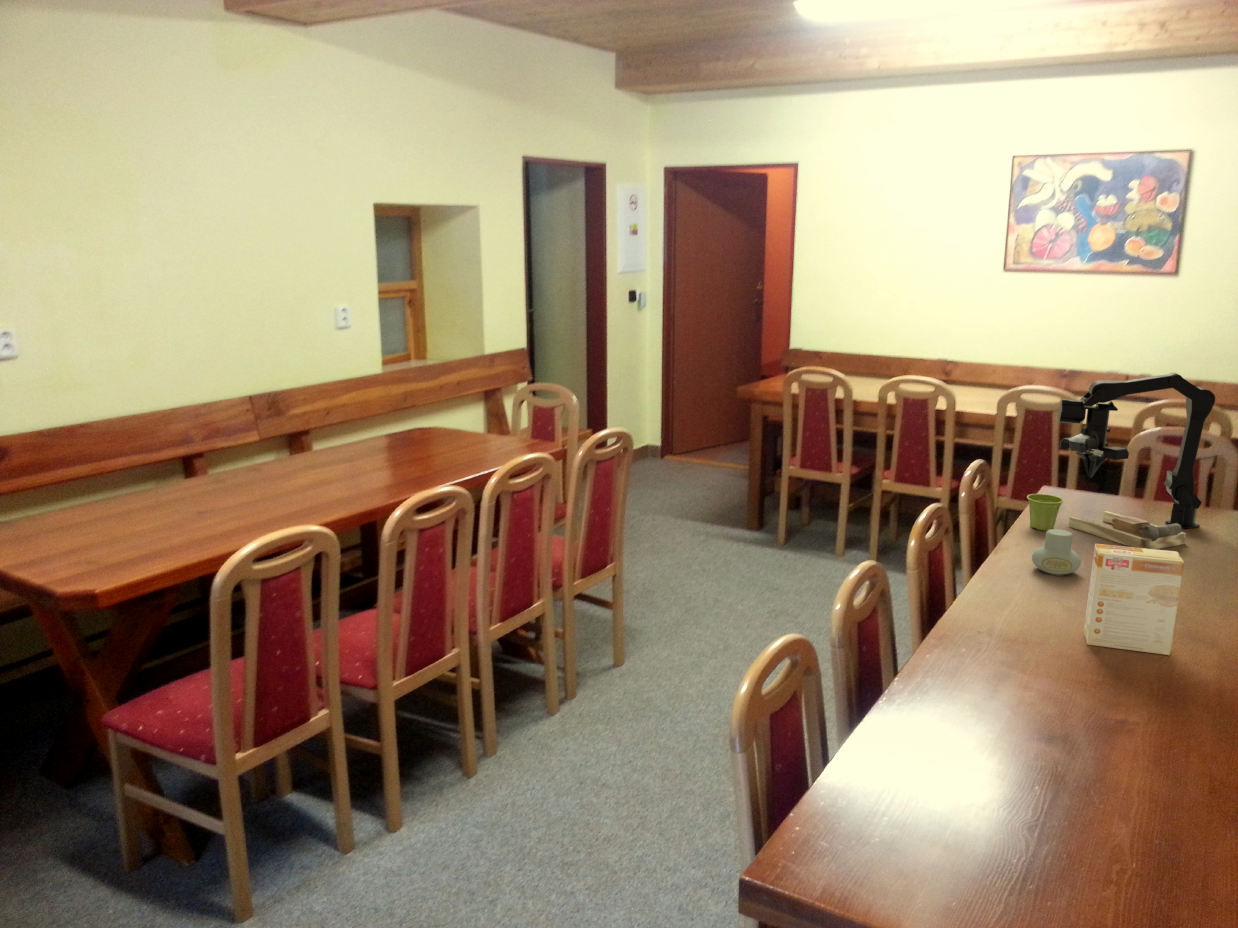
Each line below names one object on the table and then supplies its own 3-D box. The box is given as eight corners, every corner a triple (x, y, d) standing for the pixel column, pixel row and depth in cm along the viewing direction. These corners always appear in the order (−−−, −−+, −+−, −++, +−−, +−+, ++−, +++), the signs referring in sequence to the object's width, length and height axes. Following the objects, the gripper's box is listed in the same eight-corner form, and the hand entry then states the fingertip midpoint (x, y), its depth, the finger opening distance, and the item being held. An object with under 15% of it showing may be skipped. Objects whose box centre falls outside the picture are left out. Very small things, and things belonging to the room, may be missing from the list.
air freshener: (1030, 573, 232) (1035, 534, 230) (1030, 563, 240) (1034, 525, 238) (1080, 579, 228) (1085, 539, 226) (1078, 569, 236) (1083, 530, 234)
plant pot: (1063, 533, 265) (1067, 503, 263) (1027, 531, 266) (1030, 501, 264) (1055, 524, 274) (1059, 494, 272) (1020, 521, 275) (1024, 492, 273)
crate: (1126, 532, 267) (1128, 515, 266) (1148, 539, 261) (1150, 522, 260) (1110, 534, 265) (1112, 517, 263) (1131, 542, 258) (1134, 524, 257)
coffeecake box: (1163, 642, 193) (1177, 550, 188) (1170, 656, 186) (1185, 561, 182) (1082, 631, 198) (1094, 542, 193) (1086, 645, 191) (1099, 552, 187)
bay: (1106, 520, 278) (1109, 498, 277) (1189, 545, 256) (1192, 521, 254) (1068, 526, 272) (1071, 503, 270) (1149, 552, 249) (1153, 528, 248)
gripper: (1050, 421, 280) (1044, 473, 283) (1106, 432, 264) (1099, 487, 267) (1076, 418, 285) (1069, 469, 288) (1133, 429, 268) (1126, 483, 272)
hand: (1090, 477), depth 279 cm, fingers closed
